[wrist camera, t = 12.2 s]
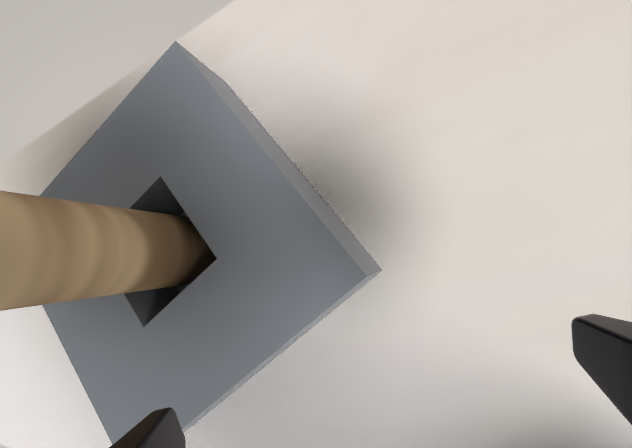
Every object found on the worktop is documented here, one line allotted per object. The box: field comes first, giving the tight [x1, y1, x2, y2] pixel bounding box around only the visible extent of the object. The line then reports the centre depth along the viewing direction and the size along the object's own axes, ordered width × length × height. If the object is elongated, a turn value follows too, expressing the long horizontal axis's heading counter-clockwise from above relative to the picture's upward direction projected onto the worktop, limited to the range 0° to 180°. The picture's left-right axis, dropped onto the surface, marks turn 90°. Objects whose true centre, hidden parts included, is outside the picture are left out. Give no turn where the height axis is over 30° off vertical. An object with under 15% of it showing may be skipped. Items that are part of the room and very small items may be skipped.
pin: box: [0, 191, 217, 311], centre depth 16 cm, size 4×4×13 cm
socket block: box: [40, 41, 382, 444], centre depth 21 cm, size 16×16×5 cm
